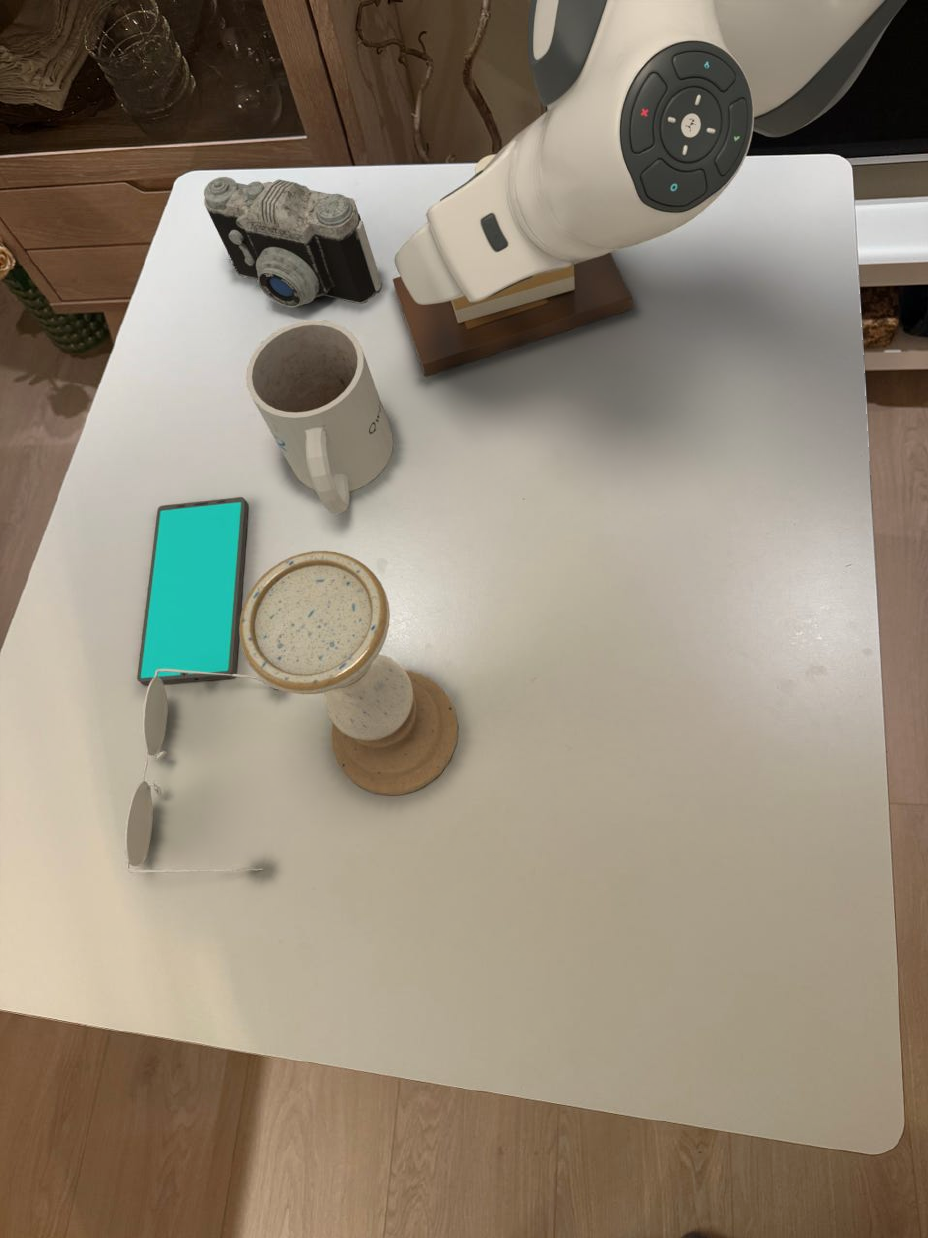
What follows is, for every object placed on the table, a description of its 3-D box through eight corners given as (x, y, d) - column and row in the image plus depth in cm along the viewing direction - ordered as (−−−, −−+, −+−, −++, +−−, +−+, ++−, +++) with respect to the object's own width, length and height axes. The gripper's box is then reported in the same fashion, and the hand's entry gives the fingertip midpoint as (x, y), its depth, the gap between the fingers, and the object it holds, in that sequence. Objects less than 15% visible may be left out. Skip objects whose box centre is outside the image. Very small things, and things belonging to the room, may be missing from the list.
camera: (213, 298, 82) (164, 208, 72) (247, 244, 84) (204, 150, 75) (356, 334, 78) (324, 243, 68) (388, 275, 80) (361, 180, 71)
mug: (298, 404, 75) (257, 321, 66) (398, 403, 74) (370, 318, 65) (274, 534, 70) (226, 463, 61) (380, 535, 69) (348, 462, 60)
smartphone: (244, 496, 71) (231, 674, 65) (248, 501, 72) (235, 678, 66) (156, 506, 72) (135, 682, 66) (161, 511, 73) (140, 686, 67)
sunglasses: (170, 686, 66) (150, 662, 62) (284, 687, 67) (272, 663, 62) (142, 880, 61) (118, 869, 56) (267, 881, 61) (253, 870, 56)
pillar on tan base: (558, 247, 76) (551, 125, 66) (574, 289, 74) (570, 170, 64) (444, 280, 76) (420, 164, 66) (458, 323, 74) (435, 210, 64)
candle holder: (473, 689, 63) (421, 555, 45) (437, 811, 60) (364, 720, 42) (358, 662, 65) (263, 523, 47) (317, 778, 62) (197, 677, 44)
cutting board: (590, 227, 79) (590, 212, 77) (631, 309, 75) (632, 295, 73) (395, 291, 79) (391, 277, 77) (425, 376, 75) (421, 363, 73)
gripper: (678, 63, 57) (590, 122, 70) (407, 220, 55) (367, 250, 68) (714, 161, 60) (623, 200, 72) (455, 315, 57) (408, 327, 70)
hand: (497, 226), depth 70 cm, fingers closed on pillar on tan base, 3 cm apart
